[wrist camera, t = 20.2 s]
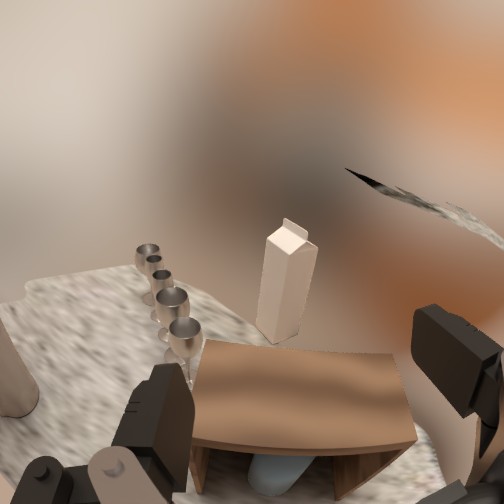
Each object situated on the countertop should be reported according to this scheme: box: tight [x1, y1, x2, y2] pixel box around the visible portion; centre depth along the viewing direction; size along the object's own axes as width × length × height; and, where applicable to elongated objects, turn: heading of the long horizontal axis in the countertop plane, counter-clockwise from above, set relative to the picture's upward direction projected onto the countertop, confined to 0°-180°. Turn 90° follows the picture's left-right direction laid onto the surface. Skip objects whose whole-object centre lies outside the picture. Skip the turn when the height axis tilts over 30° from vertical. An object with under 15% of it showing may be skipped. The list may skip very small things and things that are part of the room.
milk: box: [256, 218, 318, 345], centre depth 50 cm, size 6×6×22 cm
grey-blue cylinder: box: [248, 453, 316, 496], centre depth 26 cm, size 6×6×12 cm
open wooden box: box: [189, 339, 418, 501], centre depth 26 cm, size 10×18×20 cm, turn 86°
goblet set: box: [135, 244, 203, 391], centre depth 48 cm, size 28×6×13 cm, turn 29°
